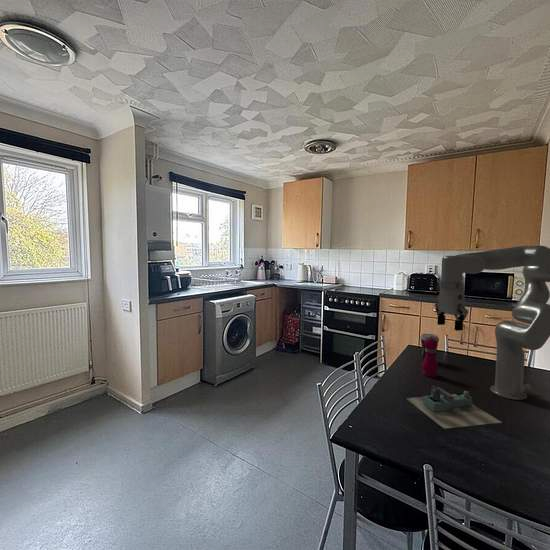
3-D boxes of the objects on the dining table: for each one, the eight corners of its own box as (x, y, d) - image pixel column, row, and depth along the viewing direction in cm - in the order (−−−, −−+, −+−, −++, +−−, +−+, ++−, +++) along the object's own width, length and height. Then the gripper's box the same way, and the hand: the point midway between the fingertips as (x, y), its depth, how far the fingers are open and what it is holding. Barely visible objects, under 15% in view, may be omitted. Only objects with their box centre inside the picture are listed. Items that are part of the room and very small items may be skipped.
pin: (441, 408, 116) (441, 391, 116) (435, 409, 116) (435, 391, 116) (436, 405, 119) (437, 388, 119) (430, 406, 119) (431, 388, 118)
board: (455, 396, 129) (456, 381, 128) (502, 425, 107) (503, 407, 107) (405, 401, 125) (406, 385, 125) (444, 431, 103) (444, 412, 103)
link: (464, 400, 123) (464, 388, 123) (477, 408, 117) (477, 395, 116) (423, 403, 120) (423, 391, 120) (433, 411, 114) (434, 398, 114)
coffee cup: (422, 364, 167) (423, 337, 166) (417, 358, 177) (418, 332, 176) (441, 365, 166) (442, 338, 165) (434, 359, 175) (435, 333, 174)
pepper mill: (439, 378, 148) (441, 338, 147) (423, 377, 150) (425, 337, 148) (435, 372, 155) (436, 334, 154) (420, 371, 157) (421, 333, 155)
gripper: (476, 288, 116) (474, 332, 117) (444, 283, 133) (442, 322, 134) (459, 288, 115) (457, 333, 116) (428, 284, 132) (427, 323, 133)
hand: (449, 327), depth 125 cm, fingers open, 9 cm apart
